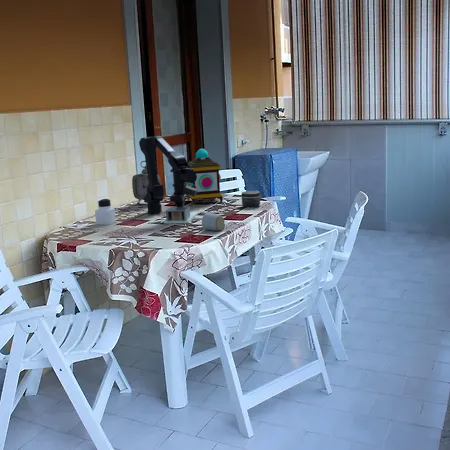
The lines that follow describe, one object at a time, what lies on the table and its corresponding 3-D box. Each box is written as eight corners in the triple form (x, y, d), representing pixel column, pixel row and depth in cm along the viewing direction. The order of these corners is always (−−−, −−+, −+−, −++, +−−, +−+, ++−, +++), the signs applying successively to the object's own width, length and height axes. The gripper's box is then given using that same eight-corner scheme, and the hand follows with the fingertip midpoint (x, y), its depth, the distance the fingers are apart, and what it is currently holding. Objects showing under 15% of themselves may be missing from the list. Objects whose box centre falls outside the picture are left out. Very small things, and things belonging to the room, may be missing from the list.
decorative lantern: (184, 200, 352) (181, 148, 346) (217, 197, 356) (214, 146, 350) (190, 205, 333) (187, 151, 327) (225, 202, 337) (223, 148, 331)
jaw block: (174, 218, 297) (173, 210, 296) (184, 218, 296) (183, 210, 295) (171, 220, 292) (171, 212, 291) (182, 220, 291) (181, 212, 290)
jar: (263, 205, 325) (263, 191, 323) (254, 208, 316) (254, 194, 315) (247, 204, 330) (247, 190, 328) (238, 207, 322) (237, 193, 320)
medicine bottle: (116, 221, 300) (113, 198, 297) (108, 225, 293) (106, 200, 291) (103, 221, 302) (101, 197, 300) (95, 224, 296) (93, 200, 293)
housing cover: (166, 220, 291) (165, 210, 290) (171, 216, 300) (170, 206, 298) (185, 220, 289) (185, 210, 288) (190, 216, 298) (189, 206, 297)
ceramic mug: (217, 232, 266) (216, 215, 265) (201, 231, 271) (200, 214, 269) (229, 228, 275) (229, 211, 273) (214, 226, 279) (213, 210, 278)
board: (163, 223, 290) (163, 214, 289) (175, 214, 312) (174, 205, 311) (188, 223, 288) (187, 214, 287) (197, 213, 309) (197, 205, 308)
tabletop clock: (133, 205, 344) (130, 161, 338) (143, 202, 351) (140, 159, 346) (153, 206, 336) (150, 161, 331) (163, 203, 343) (160, 159, 338)
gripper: (191, 184, 286) (193, 216, 290) (199, 178, 304) (201, 208, 308) (168, 184, 288) (170, 216, 292) (177, 178, 306) (180, 208, 310)
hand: (181, 212), depth 300 cm, fingers closed
